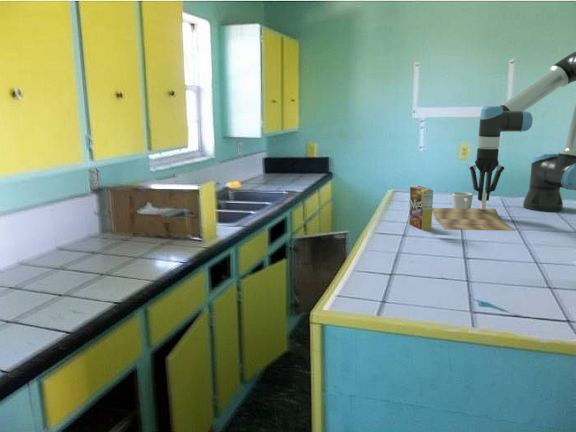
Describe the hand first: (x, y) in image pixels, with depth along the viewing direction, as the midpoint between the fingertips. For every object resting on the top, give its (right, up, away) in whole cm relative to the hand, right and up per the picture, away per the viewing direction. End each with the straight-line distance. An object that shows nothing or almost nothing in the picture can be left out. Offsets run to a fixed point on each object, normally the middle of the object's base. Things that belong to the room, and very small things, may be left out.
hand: (482, 208), depth 195 cm
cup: (-4, -2, +10) cm, 11 cm away
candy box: (-28, -8, -15) cm, 33 cm away
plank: (-7, -3, -1) cm, 8 cm away
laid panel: (-8, -7, -13) cm, 17 cm away
